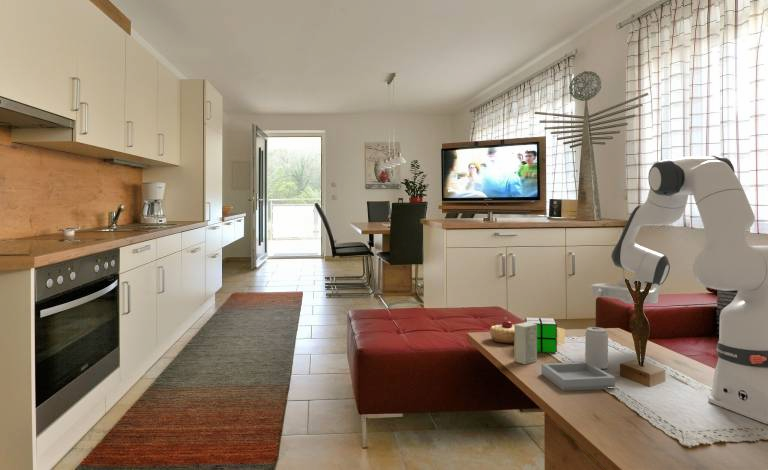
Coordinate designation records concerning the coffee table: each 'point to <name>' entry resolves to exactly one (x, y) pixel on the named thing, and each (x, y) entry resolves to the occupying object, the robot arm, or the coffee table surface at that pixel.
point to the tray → (577, 376)
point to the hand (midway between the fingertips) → (613, 295)
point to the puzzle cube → (545, 334)
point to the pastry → (503, 332)
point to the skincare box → (525, 342)
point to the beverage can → (596, 347)
